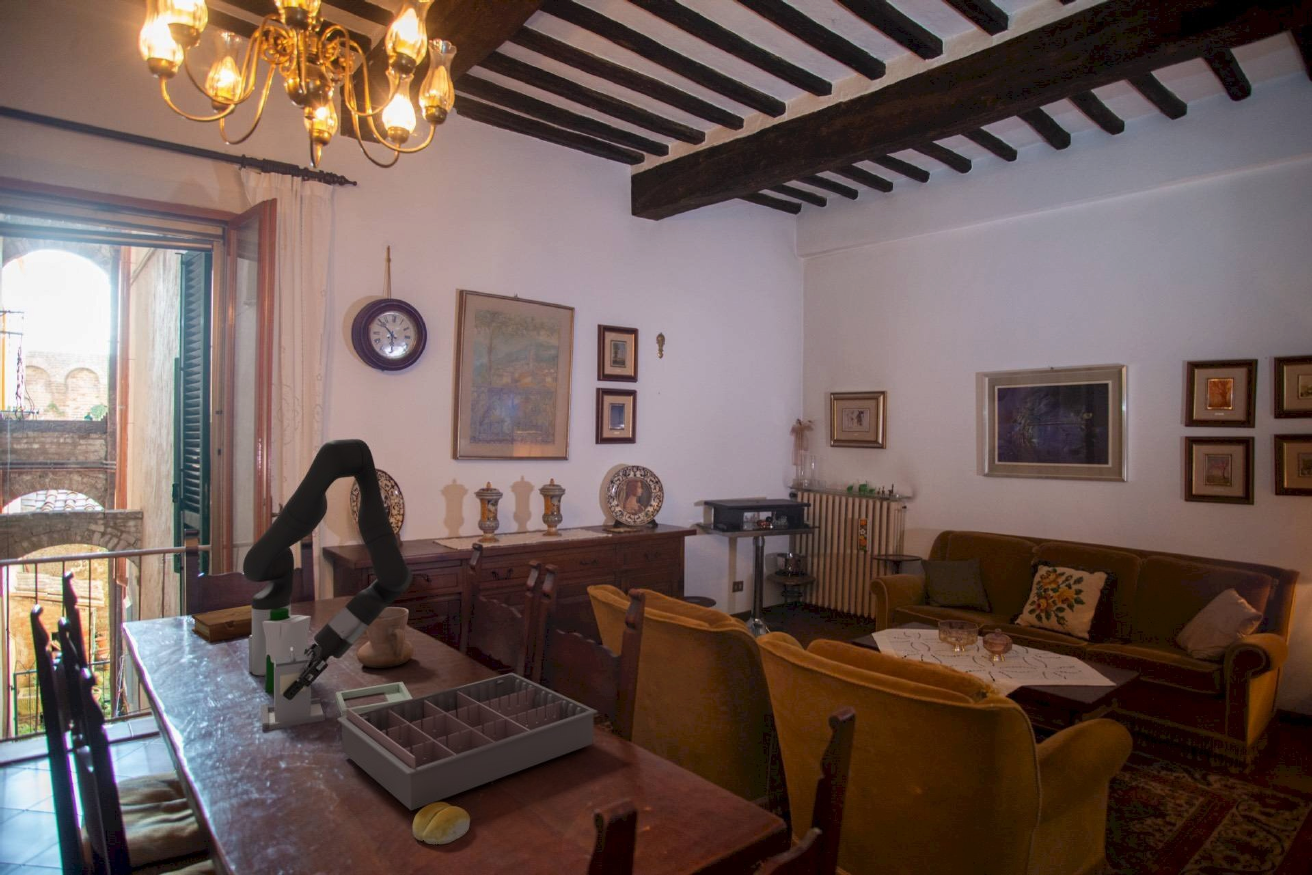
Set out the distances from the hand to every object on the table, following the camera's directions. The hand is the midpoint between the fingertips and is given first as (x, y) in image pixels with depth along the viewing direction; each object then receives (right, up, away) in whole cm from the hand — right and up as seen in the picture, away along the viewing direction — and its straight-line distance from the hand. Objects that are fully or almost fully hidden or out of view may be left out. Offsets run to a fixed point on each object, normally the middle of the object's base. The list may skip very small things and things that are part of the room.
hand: (285, 691), depth 164 cm
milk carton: (-8, -6, +18) cm, 21 cm away
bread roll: (+47, -8, -44) cm, 65 cm away
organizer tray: (+44, -7, -16) cm, 48 cm away
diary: (-51, -6, +74) cm, 90 cm away
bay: (+1, -7, +1) cm, 7 cm away
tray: (+16, -6, +9) cm, 20 cm away
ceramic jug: (+8, -6, +39) cm, 41 cm away
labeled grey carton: (+1, -6, +1) cm, 6 cm away
